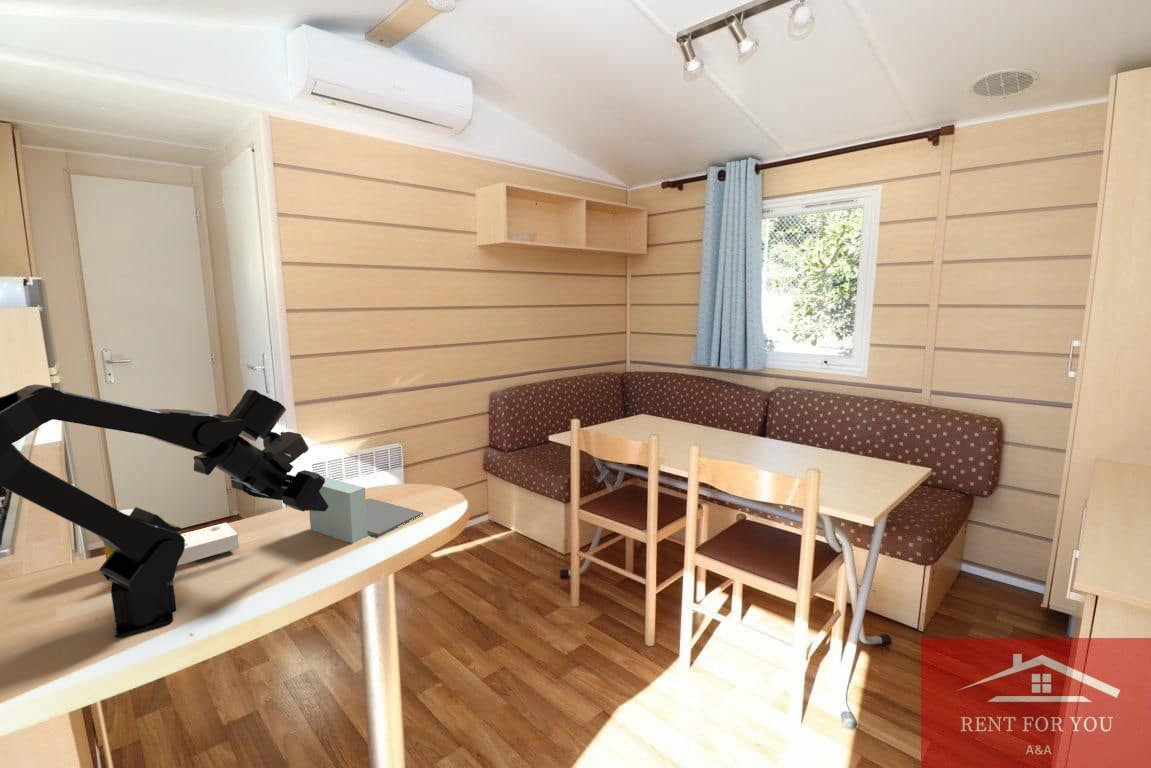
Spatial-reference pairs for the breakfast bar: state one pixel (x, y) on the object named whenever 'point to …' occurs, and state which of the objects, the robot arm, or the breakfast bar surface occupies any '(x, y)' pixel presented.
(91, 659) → the breakfast bar surface
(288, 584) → the breakfast bar surface
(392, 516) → the mat
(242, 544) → the breakfast bar surface
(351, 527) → the grey-green slab
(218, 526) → the white box
